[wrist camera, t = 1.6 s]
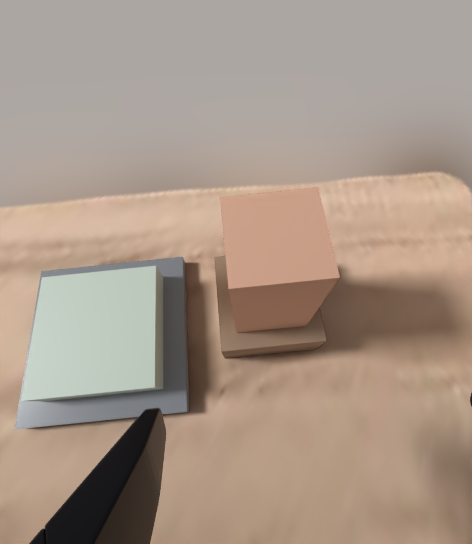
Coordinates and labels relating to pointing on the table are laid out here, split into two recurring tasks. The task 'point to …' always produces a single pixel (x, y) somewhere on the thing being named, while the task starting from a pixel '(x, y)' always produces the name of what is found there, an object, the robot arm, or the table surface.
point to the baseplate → (132, 403)
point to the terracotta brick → (277, 258)
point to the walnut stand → (262, 339)
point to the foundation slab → (96, 335)
